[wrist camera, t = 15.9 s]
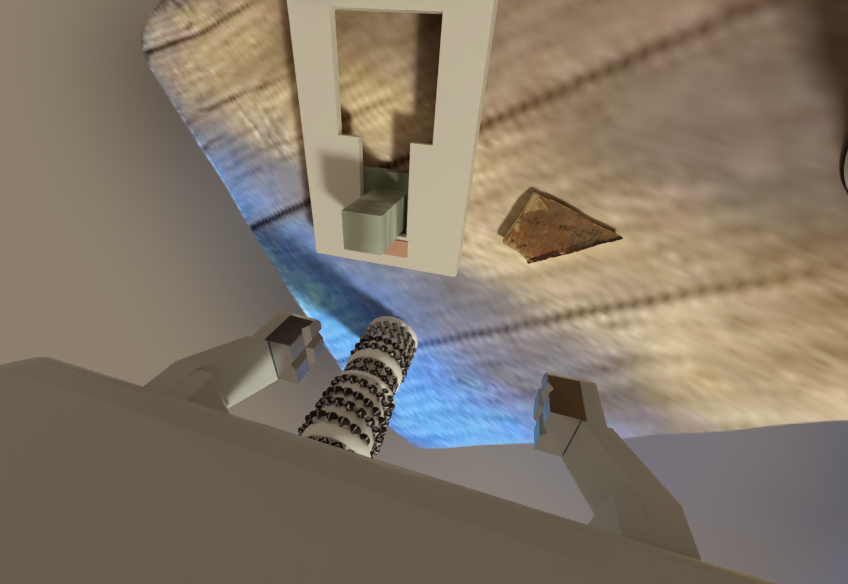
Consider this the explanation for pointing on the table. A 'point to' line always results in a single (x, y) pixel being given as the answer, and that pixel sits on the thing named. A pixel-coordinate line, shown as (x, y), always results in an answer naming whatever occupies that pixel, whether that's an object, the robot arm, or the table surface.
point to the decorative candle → (364, 389)
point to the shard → (553, 231)
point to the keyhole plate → (429, 163)
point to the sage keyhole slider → (377, 211)
